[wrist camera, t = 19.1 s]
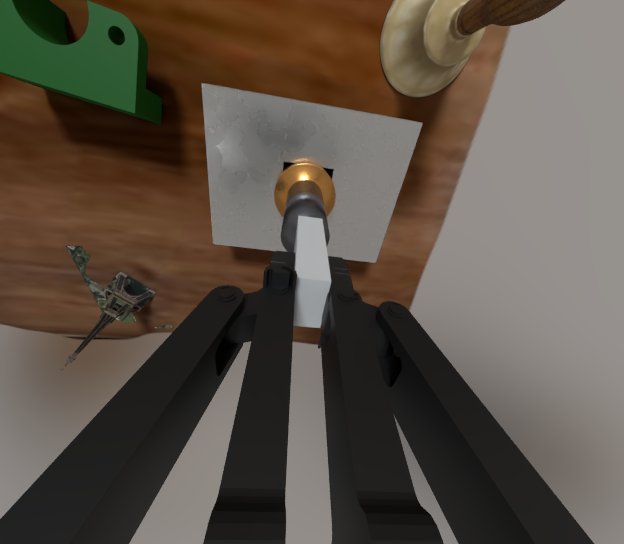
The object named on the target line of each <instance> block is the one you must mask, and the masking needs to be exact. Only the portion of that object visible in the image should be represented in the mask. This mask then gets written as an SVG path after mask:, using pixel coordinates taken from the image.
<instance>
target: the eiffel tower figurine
mask: <svg viewBox="0 0 624 544" xmlns="http://www.w3.org/2000/svg"><path fill="white" fill-rule="evenodd" d="M66 247H67V249H68V251H69V253H70V255H71V257H72V258H73V260H74V262H75V263H76V265H77V267H78V269H79V271H80V272H81V274H82V276H83V278H84V280H85V282H86V283H87V285H88V287H89V289H90V291H91V293H92V294H93V296H94V298H95V300H96V302H97V303H98V305H99V307H100V309H101V310H102V312H103V313H102V315H101V316H100V320H99V322H98V323H97V324H96V326H95V327H94V328H93V330H92V331H91V332H90V334H89V335H88V336H87V337H86V339H85V340H84V341H83V342H82V344H81V345H80V346H79V347H78V349H77V350H76V351H75V352H74V353H73V354H72V355H70V357H68V360H67V363H69V362H72V361H73V360H75V359H76V356H77V355H78V354H79V353H80V352H81V351H82V350H83V349H84V348H85V347H86V345H87V344H88V343H89V342H90V341H91V340H92V339H93V338H94V337H95V336H96V335H97V334H98V333H99V332H100V331H101V330H102V329H103V328H105V327H106V326H107V325H108V324H109V323H112V322H113V321H114V320H115V319H117V320H119V321H121V322H125V323H130V322H135V321H136V319H135V316H134V314H133V312H135V311H140V310H141V309H142V308H143V307H144V306H145V305H146V304H147V303H148V301H149V300H150V299H151V298H152V297H153V296H154V295H155V294H156V292H155V291H153V290H151V289H150V288H148V287H147V286H145V285H143V284H142V283H140V282H138V281H137V280H135V279H133V278H132V277H130V276H128V275H127V274H125V273H123V272H122V271H120V272H119V273H118V274H117V275H116V277H115V278H114V279H113V280H112V282H111V283H110V284H109V285H108V287H107V288H104V287H102V286H101V285H99V284H98V283H96V282H94V281H93V280H92V279H91V278H89V277H88V276H87V275H86V274H85V265H86V263H87V262H88V261H89V259H90V257H91V256H90V255H89V254H88V253H87V252H86V251H85V250H84V249H83V247H82V246H66ZM154 328H173V326H172V325H164V326H161V325H159V326H157V327H154ZM95 331H96V332H95ZM65 366H66V365H65ZM65 366H64V367H65ZM64 367H63V368H64ZM63 368H62V369H63ZM62 369H61V370H62Z"/></svg>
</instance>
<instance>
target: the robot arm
mask: <svg viewBox="0 0 624 544" xmlns="http://www.w3.org/2000/svg"><path fill="white" fill-rule="evenodd" d="M321 323H322V327H323V328H322V332H321V337H320V341H319V345H318V348H320V347H321V352H322V368H323V384H324V401H325V417H326V432H327V447H328V465H329V483H330V499H331V515H332V544H443V540H442V538H441V535H440V533H439V530H438V527H437V525H436V523H435V522H434V520H433V518H432V516H431V515H430V514H429V513H428V512H427V511H426V510H425V509H423V507H422V506H421V505H420V503H419V502H418V500H417V497H416V494H415V491H414V487H413V484H412V480H411V476H410V473H409V469H408V465H407V462H406V458H405V455H404V451H403V447H402V444H401V440H400V437H399V433H398V430H397V426H396V422H395V419H394V415H395V418H396V420H397V422H398V423H399V426H400V427H401V430H402V431H403V434H404V436H405V438H406V440H407V441H408V443H409V446H410V447H411V449H412V452H413V453H414V455H415V458H416V460H417V462H418V464H419V466H420V468H421V469H422V472H423V474H424V476H425V477H426V480H427V482H428V484H429V485H430V487H431V490H432V492H433V494H434V495H435V498H436V500H437V502H438V504H439V505H440V508H441V509H442V512H443V513H444V516H445V517H446V520H447V522H448V524H449V525H450V527H451V529H452V531H453V533H454V535H455V537H456V539H457V541H458V543H459V544H594V543H593V542H592V540H591V539H590V538H589V537H588V535H587V534H586V533H585V532H584V530H583V529H582V528H581V527H580V525H579V524H578V523H577V522H576V520H575V519H574V518H573V517H572V515H571V514H570V513H569V511H568V510H567V509H566V508H565V507H564V505H563V504H562V503H561V501H560V500H559V499H558V498H557V496H556V495H555V494H554V493H553V491H552V490H551V489H550V488H549V486H548V485H547V484H546V483H545V481H544V480H543V479H542V478H541V476H540V475H539V474H538V473H537V471H536V470H535V469H534V467H533V466H532V465H531V464H530V462H529V461H528V460H527V459H526V457H525V456H524V455H523V454H522V453H521V451H520V450H519V449H518V447H517V446H516V445H515V444H514V442H513V441H512V440H511V439H510V437H509V436H508V435H507V434H506V433H505V431H504V430H503V429H502V427H501V426H500V425H499V424H498V422H497V421H496V420H495V418H494V417H493V416H492V415H491V413H490V412H489V411H488V410H487V408H486V407H485V406H484V405H483V403H482V402H481V401H480V400H479V398H478V397H477V396H476V395H475V393H474V392H473V391H472V390H471V389H470V387H469V386H468V384H467V383H466V382H465V381H464V380H463V378H462V377H461V376H460V375H459V373H458V372H457V371H456V369H455V368H454V367H453V366H452V364H451V363H450V362H449V361H448V359H447V358H446V357H445V356H444V355H443V353H442V352H441V351H440V350H439V348H438V347H437V346H436V344H435V343H434V342H433V340H432V339H431V338H430V337H429V335H428V334H427V333H426V332H425V330H424V329H423V328H422V327H421V325H420V324H419V323H418V322H417V320H416V319H415V318H414V317H413V315H412V314H411V313H410V312H409V310H408V309H406V308H405V307H404V306H402V305H401V304H399V303H396V302H391V301H386V302H383V303H382V304H381V305H380V306H379V307H376V306H373V305H370V304H367V303H365V302H363V301H362V299H361V297H360V295H359V293H357V292H356V291H355V290H354V289H353V285H352V281H351V277H350V273H349V270H348V265H347V263H346V261H345V260H344V259H343V258H341V257H333V256H328V254H327V247H326V240H325V233H324V226H323V219H320V218H313V217H306V216H298V223H297V230H296V238H295V246H294V253H293V252H285V251H276V252H275V253H273V254H272V256H271V261H270V266H269V267H267V268H266V269H265V271H264V281H263V288H262V289H261V290H259V291H256V292H253V293H246V294H243V291H242V290H241V289H240V288H237V287H235V286H229V285H227V286H220V287H217V288H215V289H213V290H212V291H211V292H210V293H209V294H208V295H207V296H206V297H205V298H204V299H203V300H202V301H201V302H200V304H199V305H198V306H197V307H196V308H195V309H194V310H193V311H192V312H191V313H190V314H189V315H188V317H187V318H186V319H185V320H184V321H183V322H182V323H181V324H180V325H179V326H178V327H177V328H176V330H175V331H174V332H173V333H172V334H171V335H170V336H169V337H168V338H167V339H166V340H165V341H164V343H163V344H162V345H161V346H160V347H159V348H158V349H157V350H156V351H155V352H154V353H153V354H152V355H151V357H150V358H149V359H148V360H147V361H146V362H145V363H144V364H143V365H142V366H141V367H140V369H139V370H138V371H137V372H136V373H135V374H134V375H133V376H132V377H131V378H130V379H129V380H128V382H127V383H126V384H125V385H124V386H123V387H122V388H121V389H120V390H119V391H118V392H117V394H116V395H115V396H114V397H113V398H112V399H111V400H110V401H109V402H108V403H107V404H106V405H105V406H104V407H103V409H102V410H101V411H100V412H99V413H98V414H97V415H96V416H95V417H94V418H93V419H92V420H91V422H90V423H89V424H88V425H87V426H86V427H85V428H84V429H83V430H82V431H81V432H80V434H79V435H78V436H77V437H76V438H75V439H74V440H73V441H72V442H71V443H70V444H69V445H68V447H67V448H66V449H65V450H64V451H63V452H62V453H61V454H60V455H59V456H58V457H57V458H56V459H55V461H54V462H53V463H52V464H51V465H50V466H49V467H48V468H47V469H46V470H45V471H44V472H43V474H42V475H41V476H40V477H39V478H38V479H37V480H36V481H35V482H34V483H33V484H32V486H31V487H30V488H29V489H28V490H27V491H26V492H25V493H24V494H23V495H22V496H21V497H20V499H19V500H18V501H17V502H16V503H15V504H14V505H13V506H12V507H11V508H10V509H9V510H8V512H7V513H6V514H5V515H4V516H3V517H2V518H1V519H0V544H129V543H130V541H131V539H132V537H133V536H134V534H135V532H136V530H137V529H138V527H139V525H140V523H141V522H142V520H143V518H144V517H145V515H146V513H147V511H148V510H149V508H150V506H151V504H152V502H153V501H154V499H155V497H156V496H157V494H158V492H159V490H160V489H161V487H162V485H163V483H164V482H165V480H166V478H167V476H168V475H169V473H170V471H171V469H172V468H173V466H174V464H175V463H176V461H177V459H178V457H179V455H180V453H181V452H182V450H183V448H184V447H185V445H186V443H187V442H188V440H189V438H190V436H191V435H192V433H193V431H194V429H195V428H196V426H197V424H198V422H199V420H200V419H201V417H202V415H203V414H204V412H205V410H206V409H207V407H208V405H209V403H210V402H211V400H212V398H213V396H214V394H215V393H216V391H217V389H218V388H219V386H220V384H221V382H222V381H223V379H224V377H225V375H226V374H227V372H228V370H229V368H230V366H231V365H232V363H233V361H234V360H235V358H236V356H237V355H238V353H239V351H240V349H241V348H242V346H243V343H244V342H249V341H252V342H251V346H250V351H249V356H248V360H247V365H246V369H245V374H244V379H243V383H242V388H241V393H240V397H239V402H238V407H237V411H236V415H235V420H234V425H233V429H232V434H231V439H230V443H229V448H228V452H227V457H226V462H225V466H224V471H223V476H222V480H221V485H220V489H219V494H218V497H217V501H216V503H215V506H214V508H213V510H212V513H211V516H210V520H209V523H208V527H207V531H206V535H205V539H204V543H203V544H285V535H286V508H285V486H286V465H287V445H288V423H289V403H290V383H291V362H292V342H293V326H303V327H314V328H320V327H321ZM393 414H394V415H393Z"/></svg>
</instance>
